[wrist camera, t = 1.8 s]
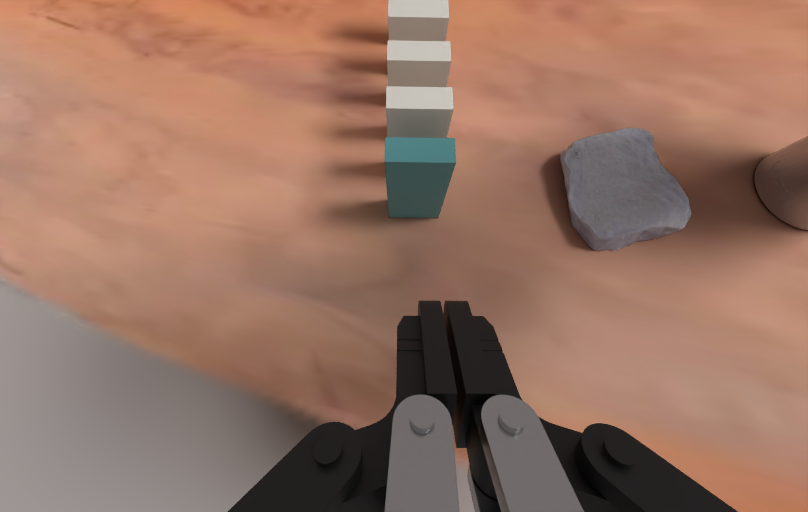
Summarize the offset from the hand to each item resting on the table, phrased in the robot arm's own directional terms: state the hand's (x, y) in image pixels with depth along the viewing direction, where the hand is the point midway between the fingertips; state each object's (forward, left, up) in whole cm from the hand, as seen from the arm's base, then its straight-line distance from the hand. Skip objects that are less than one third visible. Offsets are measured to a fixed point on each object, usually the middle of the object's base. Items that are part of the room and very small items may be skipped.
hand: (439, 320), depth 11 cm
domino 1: (0, -26, -18) cm, 31 cm away
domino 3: (0, -17, -18) cm, 25 cm away
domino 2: (0, -21, -18) cm, 28 cm away
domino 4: (0, -12, -18) cm, 22 cm away
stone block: (-20, -14, -18) cm, 30 cm away
